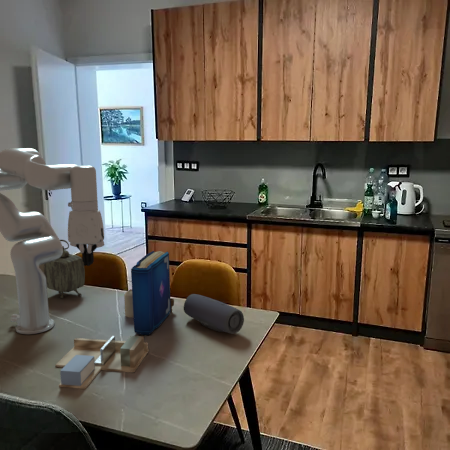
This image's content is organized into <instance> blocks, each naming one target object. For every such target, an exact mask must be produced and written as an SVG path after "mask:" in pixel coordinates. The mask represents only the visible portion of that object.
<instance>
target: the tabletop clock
mask: <svg viewBox="0 0 450 450" xmlns="http://www.w3.org/2000/svg"><path fill="white" fill-rule="evenodd" d="M59 240H60V241H61V242H64V243H66V245H67V247H66V248H65V247H64V246H63V245H62V247H63V253H62V255H61V257H60V258H59V259H57V260H55V261H52V262H48V263H45V264H43V268H44V270H43V273H44V274H45V276H46V282H47V289H49V290H52V291H56V292H58V293H59V294H60V293H61V295H60V296H59V298H60V299H63V298H65V296H64V293H71V292H72V291H73V292H75V293H76V294H77V297H82V293H81V292H79V291H78V289H80V288H83V287H84V286H85V281H86V278H85V277H86V274H85V273H86V270H85V266H84V263H83V261H82V256H80V255H76V254H72V253H71V254H70V252H69V251H68V249H69V248H70V243H69V241H67V240H65V239H59Z"/></svg>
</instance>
